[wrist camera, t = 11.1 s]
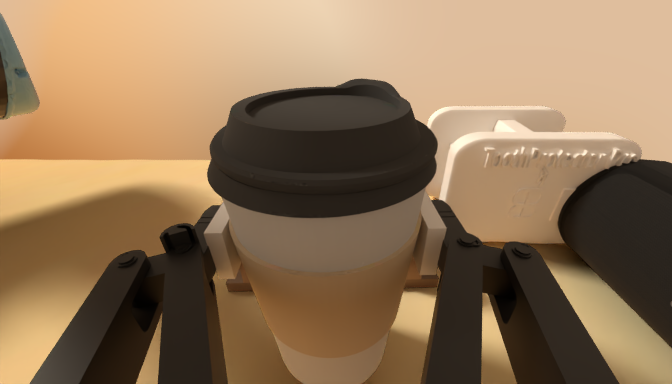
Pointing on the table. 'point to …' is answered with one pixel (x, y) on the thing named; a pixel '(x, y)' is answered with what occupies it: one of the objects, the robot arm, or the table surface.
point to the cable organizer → (515, 168)
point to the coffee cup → (325, 217)
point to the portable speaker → (627, 235)
